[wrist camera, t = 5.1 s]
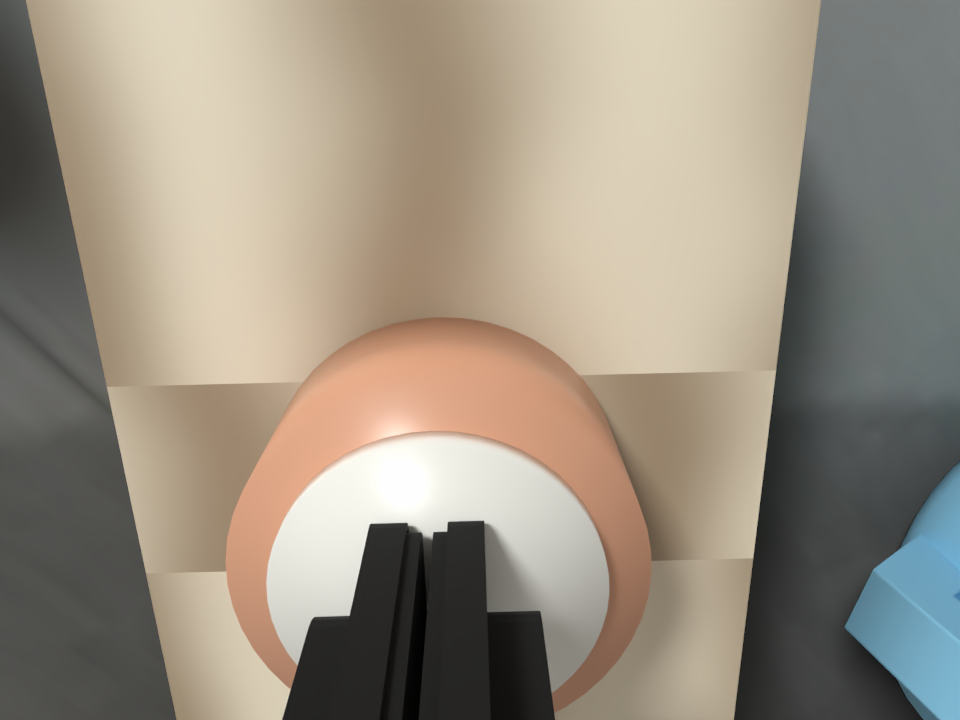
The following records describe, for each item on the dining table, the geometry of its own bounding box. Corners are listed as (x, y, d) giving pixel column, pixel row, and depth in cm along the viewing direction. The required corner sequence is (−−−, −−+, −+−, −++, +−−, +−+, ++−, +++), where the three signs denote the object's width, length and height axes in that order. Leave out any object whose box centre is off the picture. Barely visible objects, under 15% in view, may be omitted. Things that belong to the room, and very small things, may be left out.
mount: (691, -65, 19) (839, -150, 11) (646, 618, 26) (718, 845, 18) (188, -53, 19) (-2, -130, 11) (282, 628, 26) (206, 859, 18)
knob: (573, 229, 20) (671, 390, 10) (568, 450, 22) (645, 756, 13) (325, 234, 20) (184, 401, 10) (346, 455, 22) (247, 766, 13)
